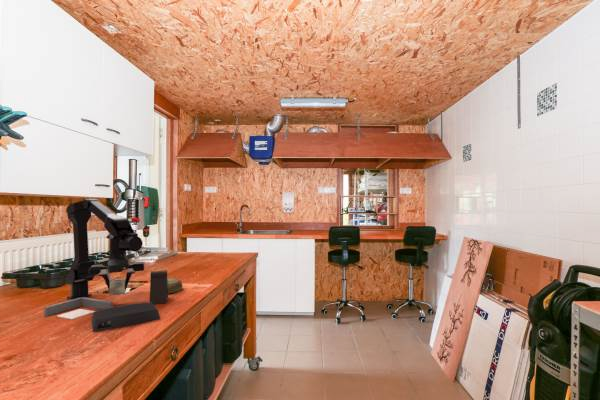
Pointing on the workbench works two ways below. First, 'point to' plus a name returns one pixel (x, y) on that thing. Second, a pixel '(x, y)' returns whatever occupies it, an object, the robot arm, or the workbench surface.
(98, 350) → the workbench surface
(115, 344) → the workbench surface
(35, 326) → the workbench surface
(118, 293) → the cube
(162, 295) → the phone stand
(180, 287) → the weight
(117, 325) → the external hard drive
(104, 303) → the l-shaped corner bracket
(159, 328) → the workbench surface
